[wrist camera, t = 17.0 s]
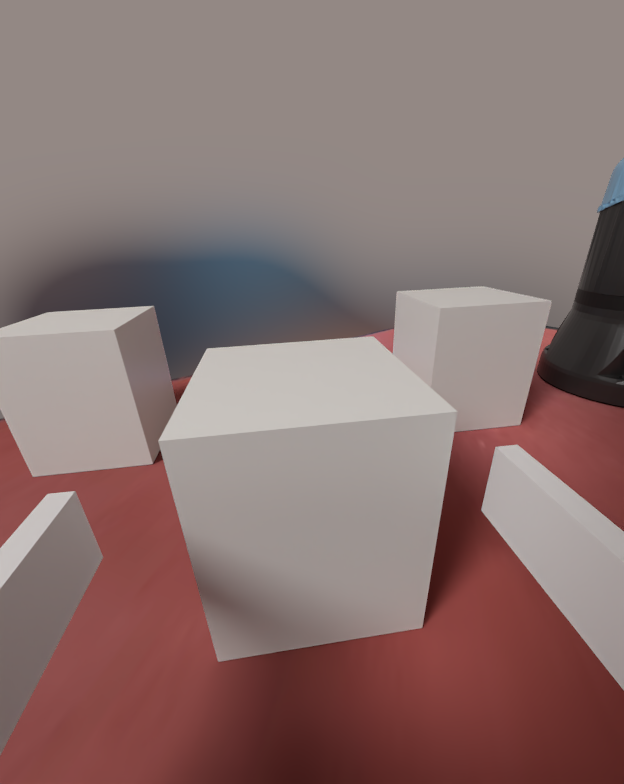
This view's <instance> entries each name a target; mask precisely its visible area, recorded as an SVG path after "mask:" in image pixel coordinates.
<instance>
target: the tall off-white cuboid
mask: <svg viewBox="0 0 624 784" xmlns="http://www.w3.org/2000/svg"><path fill="white" fill-rule="evenodd" d="M457 412H458V411H456V410H455V409H454V408H453V407H452V406H451V405H450V404H449V403H447V402H446V401H445V400H444V399H443V398H442V397H441V396H440V395H438V394H437V393H436V392H435V391H434V390H433V389H432V388H430V387H429V386H428V385H427V384H426V383H425V382H424V381H423V380H421V379H420V378H419V377H418V376H417V375H416V374H415V373H414V372H412V371H411V370H410V369H409V368H408V367H407V366H406V365H405V364H403V363H402V362H401V361H400V360H399V359H398V358H397V357H396V356H394V355H393V354H392V353H391V352H390V351H389V350H388V349H387V348H385V347H384V346H383V345H382V344H381V343H380V342H379V341H377V340H376V339H375V338H374V337H359V338H345V339H332V340H318V341H306V342H291V343H277V344H264V345H250V346H236V347H224V348H223V347H222V348H209V349H207V350H206V352H205V354H204V355H203V358H202V359H201V361H200V363H199V365H198V367H197V369H196V371H195V372H194V374H193V376H192V378H191V380H190V382H189V384H188V386H187V388H186V389H185V391H184V393H183V395H182V397H181V399H180V401H179V403H178V405H177V407H176V408H175V410H174V412H173V414H172V416H171V418H170V420H169V422H168V424H167V425H166V427H165V429H164V431H163V433H162V435H161V437H160V439H159V441H158V442H159V446H160V450H161V453H162V457H163V461H164V464H165V468H166V472H167V476H168V479H169V483H170V487H171V490H172V494H173V498H174V501H175V505H176V509H177V512H178V516H179V520H180V523H181V527H182V531H183V534H184V538H185V542H186V545H187V549H188V553H189V556H190V560H191V564H192V568H193V571H194V575H195V579H196V582H197V586H198V590H199V593H200V597H201V601H202V604H203V608H204V612H205V615H206V619H207V623H208V626H209V630H210V634H211V637H212V641H213V645H214V648H215V652H216V656H217V660H218V662H220V661H226V660H232V659H238V658H244V657H250V656H256V655H262V654H268V653H274V652H280V651H286V650H292V649H298V648H304V647H310V646H316V645H322V644H328V643H334V642H340V641H346V640H352V639H358V638H364V637H370V636H376V635H382V634H388V633H394V632H400V631H406V630H412V629H418V628H422V627H423V621H424V615H425V609H426V602H427V596H428V590H429V584H430V578H431V572H432V566H433V559H434V553H435V547H436V541H437V535H438V529H439V523H440V516H441V510H442V504H443V498H444V492H445V486H446V480H447V474H448V467H449V461H450V455H451V449H452V443H453V437H454V431H455V424H456V418H457Z"/></svg>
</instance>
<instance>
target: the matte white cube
mask: <svg viewBox="0 0 624 784" xmlns="http://www.w3.org/2000/svg"><path fill="white" fill-rule="evenodd" d="M551 303H552V301H550V300H545V299H541V298H535V297H531V296H526V295H522V294H517V293H512V292H507V291H503V290H498V289H493V288H488V287H483V286H479V287H464V288H447V289H429V290H413V291H397V299H396V315H395V328H394V343H393V355H394V356H396V357H397V358H398V359H399V360H400V361H401V362H402V363H403V364H405V365H406V366H407V367H408V368H409V369H410V370H411V371H412V372H414V373H415V374H416V375H417V376H418V377H419V378H420V379H421V380H423V381H424V382H425V383H426V384H427V385H428V386H429V387H430V388H432V389H433V390H434V391H435V392H436V393H437V394H438V395H440V396H441V397H442V398H443V399H444V400H445V401H446V402H447V403H449V404H450V405H451V406H452V407H453V408H454V409H455V410H456V411H458V412H457V418H456V424H455V431H454V432H459V431H469V430H478V429H487V428H497V427H506V426H515V425H520V424H521V420H522V416H523V412H524V408H525V404H526V401H527V397H528V393H529V389H530V385H531V381H532V377H533V373H534V369H535V365H536V362H537V358H538V354H539V350H540V346H541V342H542V338H543V334H544V330H545V326H546V322H547V318H548V314H549V311H550V306H551Z"/></svg>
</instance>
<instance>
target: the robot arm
mask: <svg viewBox="0 0 624 784" xmlns="http://www.w3.org/2000/svg"><path fill="white" fill-rule="evenodd" d="M597 213H600V215H599V218H598V222H597V225H596V229H595V232H594V235H593V239H592V242H591V245H590V249H589V252H588V255H587V259H586V262H585V266H584V269H583V272H582V276H581V279H580V282H579V286H578V290H577V293H576V297H575V300H574V303H573V306H572V309H571V311H570V312H569V314H568V315H567V317H566V318H565V320H564V321H563V323H562V324H561V326H560V327H559V329H558V331H557V332H556V334H555V336H554V338H553V339H552V341H551V344H550V345H548V346H546V347H545V349H544V350H543V352H542V354H541V357H540V361H539V364H538V368H537V372H538V374H539V375H540V376H541V377H542V378H543V379H544V380H545V381H547V382H548V383H550V384H552V385H554V386H556V387H558V388H560V389H562V390H565V391H567V392H570V393H573V394H575V395H578V396H582V397H585V398H588V399H592V400H596V401H599V402H604V403H608V404H613V405H617V406H623V407H624V158H623V159H622V160H621V161H620V162H619V163H618V164H617V166H616V167H615V169H614V171H613V173H612V175H611V178H610V181H609V184H608V187H607V190H606V193H605V196H604V198H603V201H602V204H601V206H599V208H598V210H597ZM481 511H482V512H483V513H484V515H485V516H486V517H487V518H488V520H489V521H490V522H491V524H492V525H493V526H494V527H495V529H496V530H497V531H498V532H499V534H500V535H501V536H502V537H503V539H504V540H505V541H506V542H507V544H508V545H509V546H510V547H511V549H512V550H513V551H514V553H515V554H516V555H517V556H518V558H519V559H520V560H521V561H522V563H523V564H524V565H525V566H526V568H527V569H528V570H529V571H530V573H531V574H532V575H533V577H534V578H535V579H536V580H537V582H538V583H539V584H540V585H541V587H542V588H543V589H544V590H545V592H546V593H547V594H548V595H549V597H550V598H551V599H552V600H553V602H554V603H555V604H556V606H557V607H558V608H559V609H560V611H561V612H562V613H563V614H564V616H565V617H566V618H567V619H568V621H569V622H570V623H571V624H572V626H573V627H574V628H575V630H576V631H577V632H578V633H579V635H580V636H581V637H582V638H583V640H584V641H585V642H586V643H587V645H588V646H589V647H590V648H591V650H592V651H593V652H594V654H595V655H596V656H597V657H598V659H599V660H600V661H601V662H602V664H603V665H604V666H605V667H606V669H607V670H608V671H609V672H610V674H611V675H612V676H613V677H614V679H615V680H616V681H617V683H618V684H619V685H620V686H621V688H622V689H623V690H624V531H622V530H621V529H620V528H619V527H617V526H616V525H615V524H614V523H613V522H611V521H610V520H609V519H608V518H606V517H605V516H604V515H603V514H602V513H600V512H599V511H598V510H597V509H595V508H594V507H593V506H592V505H591V504H589V503H588V502H587V501H586V500H584V499H583V498H582V497H581V496H580V495H578V494H577V493H576V492H575V491H573V490H572V489H571V488H570V487H568V486H567V485H566V484H565V483H564V482H562V481H561V480H560V479H559V478H557V477H556V476H555V475H554V474H553V473H551V472H550V471H549V470H548V469H546V468H545V467H544V466H543V465H542V464H540V463H539V462H538V461H537V460H535V459H534V458H533V457H532V456H531V455H529V454H528V453H527V452H526V451H524V450H523V449H522V448H521V447H519V446H518V445H509V446H500V447H495V452H494V456H493V461H492V465H491V469H490V474H489V478H488V482H487V487H486V491H485V496H484V500H483V504H482V509H481ZM102 558H103V556H102V553H101V551H100V549H99V546H98V544H97V541H96V539H95V537H94V534H93V532H92V530H91V527H90V525H89V522H88V520H87V518H86V515H85V513H84V511H83V508H82V506H81V503H80V501H79V499H78V496H77V494H76V492H75V491H72V492H62V493H53V494H47V495H46V496H45V497H44V499H43V500H42V501H41V502H40V503H39V504H38V506H37V507H36V508H35V509H34V510H33V511H32V512H31V514H30V515H29V516H28V517H27V518H26V519H25V520H24V522H23V523H22V524H21V525H20V526H19V527H18V529H17V530H16V531H15V532H14V533H13V534H12V535H11V537H10V538H9V539H8V540H7V541H6V542H5V544H4V545H3V546H2V547H1V548H0V755H1V753H2V751H3V749H4V747H5V745H6V743H7V741H8V740H9V738H10V736H11V734H12V732H13V730H14V728H15V726H16V724H17V722H18V720H19V718H20V716H21V714H22V713H23V711H24V709H25V707H26V705H27V703H28V701H29V699H30V697H31V695H32V693H33V691H34V689H35V687H36V686H37V684H38V682H39V680H40V678H41V676H42V674H43V672H44V670H45V668H46V666H47V664H48V662H49V661H50V659H51V657H52V655H53V653H54V651H55V649H56V647H57V645H58V643H59V641H60V639H61V637H62V635H63V634H64V632H65V630H66V628H67V626H68V624H69V622H70V620H71V618H72V616H73V614H74V612H75V610H76V608H77V607H78V605H79V603H80V601H81V599H82V597H83V595H84V593H85V591H86V589H87V587H88V585H89V583H90V582H91V580H92V578H93V576H94V574H95V572H96V570H97V568H98V566H99V564H100V562H101V560H102Z"/></svg>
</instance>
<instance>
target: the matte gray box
mask: <svg viewBox="0 0 624 784" xmlns="http://www.w3.org/2000/svg"><path fill="white" fill-rule="evenodd" d="M176 407H177V404H176V399H175V395H174V391H173V386H172V382H171V378H170V373H169V369H168V365H167V361H166V356H165V352H164V348H163V344H162V339H161V335H160V330H159V326H158V322H157V317H156V313H155V309H154V306H145V307H129V308H113V309H96V310H78V311H62V312H48V313H45V314H42V315H39V316H36V317H33V318H30V319H27V320H24V321H21V322H18V323H15V324H12V325H9V326H6V327H3V328H0V410H1V412H2V414H3V416H4V418H5V420H6V422H7V424H8V426H9V429H10V431H11V433H12V435H13V437H14V439H15V441H16V443H17V445H18V447H19V449H20V451H21V453H22V455H23V458H24V460H25V462H26V464H27V466H28V468H29V470H30V472H31V474H32V476H33V477H37V476H46V475H55V474H65V473H74V472H84V471H93V470H102V469H112V468H121V467H131V466H140V465H149V464H153V463H154V461H155V459H156V457H157V455H158V453H159V451H160V446H159V442H158V441H159V439H160V437H161V435H162V433H163V431H164V429H165V427H166V425H167V424H168V422H169V420H170V418H171V416H172V414H173V412H174V410H175V408H176Z"/></svg>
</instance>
